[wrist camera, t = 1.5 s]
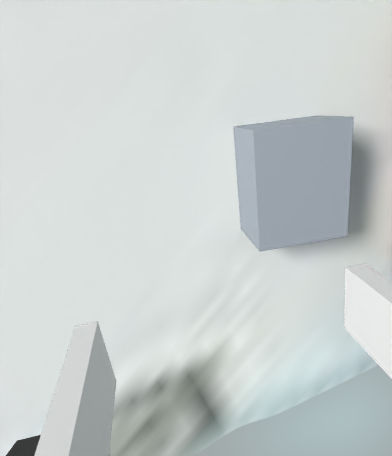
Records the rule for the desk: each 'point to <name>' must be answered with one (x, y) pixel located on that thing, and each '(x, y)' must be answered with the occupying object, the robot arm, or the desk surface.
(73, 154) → the desk surface
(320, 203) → the slate block
